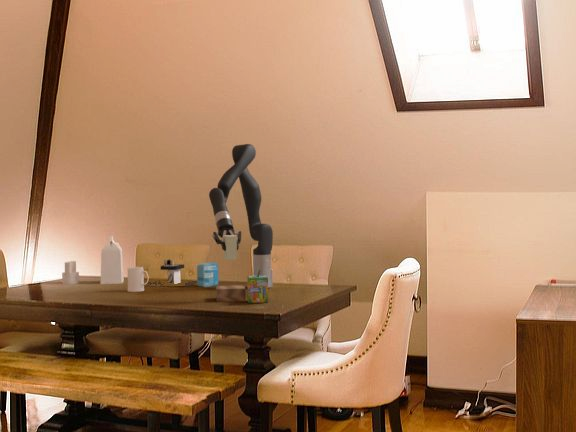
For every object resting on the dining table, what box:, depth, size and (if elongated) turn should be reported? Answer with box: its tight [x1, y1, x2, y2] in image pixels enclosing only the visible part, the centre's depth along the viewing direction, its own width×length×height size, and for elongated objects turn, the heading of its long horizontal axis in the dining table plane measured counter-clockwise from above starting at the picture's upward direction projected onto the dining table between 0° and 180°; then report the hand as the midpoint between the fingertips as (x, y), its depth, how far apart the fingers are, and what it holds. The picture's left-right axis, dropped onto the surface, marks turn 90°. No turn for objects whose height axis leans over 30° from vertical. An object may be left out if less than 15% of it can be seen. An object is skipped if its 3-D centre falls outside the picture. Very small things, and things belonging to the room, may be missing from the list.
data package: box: [196, 262, 219, 288], centre depth 428 cm, size 12×4×12 cm, turn 142°
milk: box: [100, 235, 125, 285], centre depth 450 cm, size 12×12×26 cm
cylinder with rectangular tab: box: [61, 260, 80, 285], centre depth 449 cm, size 9×9×12 cm
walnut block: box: [215, 284, 247, 303], centre depth 372 cm, size 13×13×6 cm
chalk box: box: [246, 269, 269, 304], centre depth 363 cm, size 9×9×15 cm
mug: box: [126, 266, 150, 293], centre depth 409 cm, size 12×8×12 cm
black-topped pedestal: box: [146, 258, 197, 287], centre depth 441 cm, size 28×26×13 cm
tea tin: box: [222, 235, 238, 261], centre depth 372 cm, size 5×5×11 cm
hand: (231, 249), depth 370 cm, fingers closed on tea tin, 5 cm apart
